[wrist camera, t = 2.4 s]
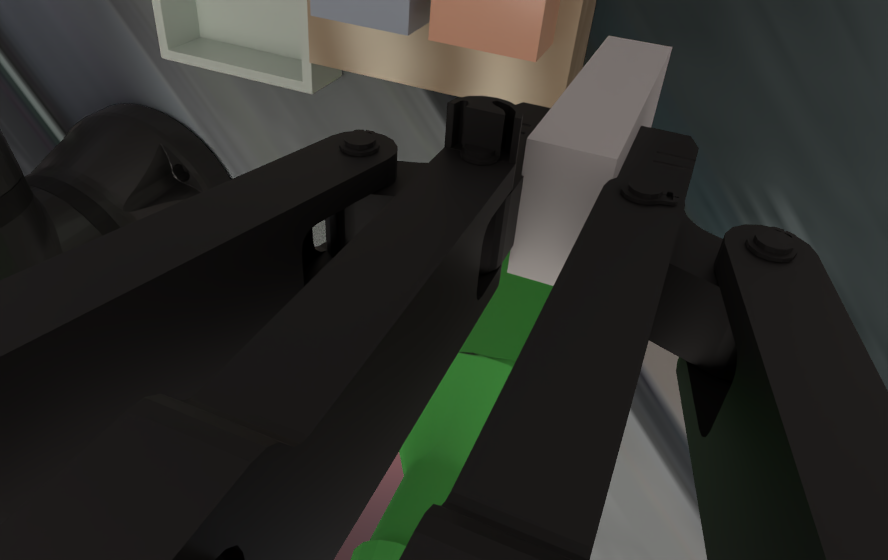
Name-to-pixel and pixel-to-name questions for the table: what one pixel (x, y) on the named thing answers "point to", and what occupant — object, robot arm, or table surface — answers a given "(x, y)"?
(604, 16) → the table surface
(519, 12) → the tile terracotta
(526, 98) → the bench plate
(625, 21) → the table surface
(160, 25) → the box
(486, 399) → the bottle
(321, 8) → the tile slate
